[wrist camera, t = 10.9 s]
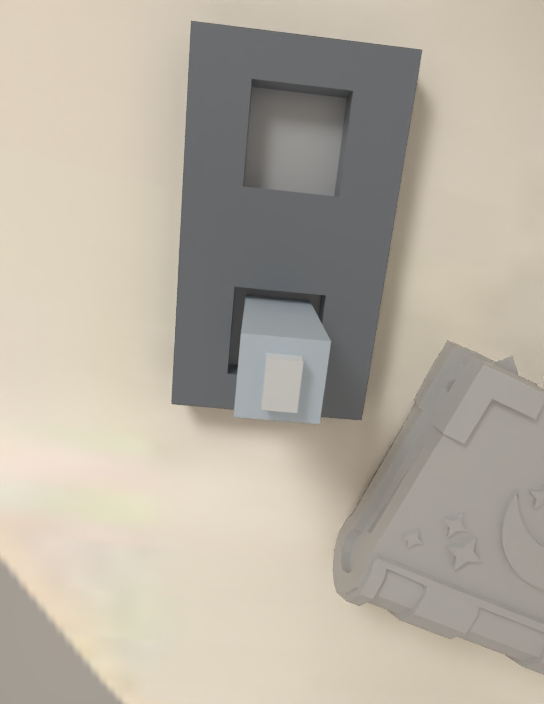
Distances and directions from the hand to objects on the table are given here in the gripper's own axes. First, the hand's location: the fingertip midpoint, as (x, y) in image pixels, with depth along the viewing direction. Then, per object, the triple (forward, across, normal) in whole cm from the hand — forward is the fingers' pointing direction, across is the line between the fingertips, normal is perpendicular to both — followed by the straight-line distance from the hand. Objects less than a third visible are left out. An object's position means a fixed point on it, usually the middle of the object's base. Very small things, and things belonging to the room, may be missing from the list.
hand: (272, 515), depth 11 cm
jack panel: (+23, +1, +4) cm, 23 cm away
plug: (+22, +1, -2) cm, 23 cm away
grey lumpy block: (+24, +22, -14) cm, 35 cm away
